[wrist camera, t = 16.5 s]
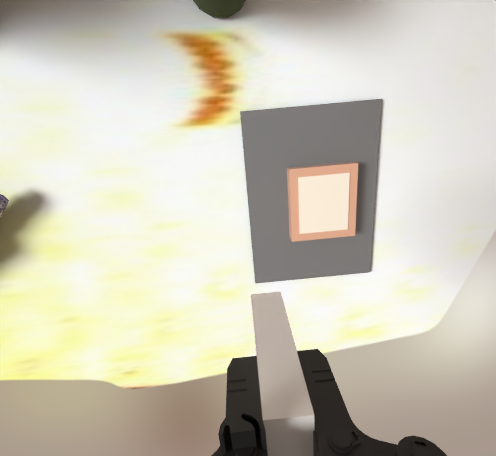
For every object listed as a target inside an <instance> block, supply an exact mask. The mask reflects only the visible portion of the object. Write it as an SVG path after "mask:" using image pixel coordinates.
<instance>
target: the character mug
mask: <svg viewBox="0 0 496 456" xmlns="http://www.w3.org/2000/svg"><path fill="white" fill-rule="evenodd" d="M193 1H194V2H195V3H196V5H197V6H198V7H199V9H200V10H202V11H203V12H205V13H207V14H209V15H210V16H212V17H229V16H231V15H232V14H234V13H236V12H237V11H239V10H240V9H241V7H242V6H243V4H244V2H245V1H246V0H193Z"/></svg>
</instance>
